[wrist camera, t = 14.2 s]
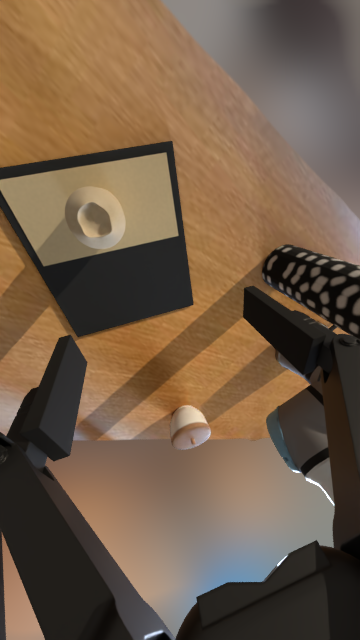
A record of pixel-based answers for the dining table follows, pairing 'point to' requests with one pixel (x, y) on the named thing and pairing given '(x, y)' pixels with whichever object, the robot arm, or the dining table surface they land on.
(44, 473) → the robot arm
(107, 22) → the dining table surface
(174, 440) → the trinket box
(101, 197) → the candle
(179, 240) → the table mat
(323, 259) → the spotted tube
